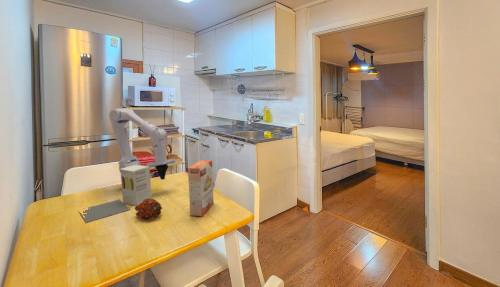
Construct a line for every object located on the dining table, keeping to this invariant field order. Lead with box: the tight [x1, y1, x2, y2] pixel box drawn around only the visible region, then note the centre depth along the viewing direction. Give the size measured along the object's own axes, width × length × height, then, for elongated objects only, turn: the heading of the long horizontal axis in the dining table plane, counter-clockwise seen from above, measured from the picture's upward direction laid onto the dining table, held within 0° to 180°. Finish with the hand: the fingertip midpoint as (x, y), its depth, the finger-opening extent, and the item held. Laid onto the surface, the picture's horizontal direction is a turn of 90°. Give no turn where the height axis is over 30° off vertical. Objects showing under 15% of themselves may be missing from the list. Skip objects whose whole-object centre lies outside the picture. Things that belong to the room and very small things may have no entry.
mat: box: [81, 199, 131, 224], centre depth 113 cm, size 16×17×1 cm
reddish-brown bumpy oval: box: [134, 198, 163, 220], centre depth 105 cm, size 8×8×12 cm
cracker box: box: [187, 159, 214, 217], centre depth 110 cm, size 14×6×21 cm, turn 168°
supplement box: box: [119, 165, 153, 207], centre depth 121 cm, size 10×9×17 cm
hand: (162, 179), depth 130 cm, fingers closed
